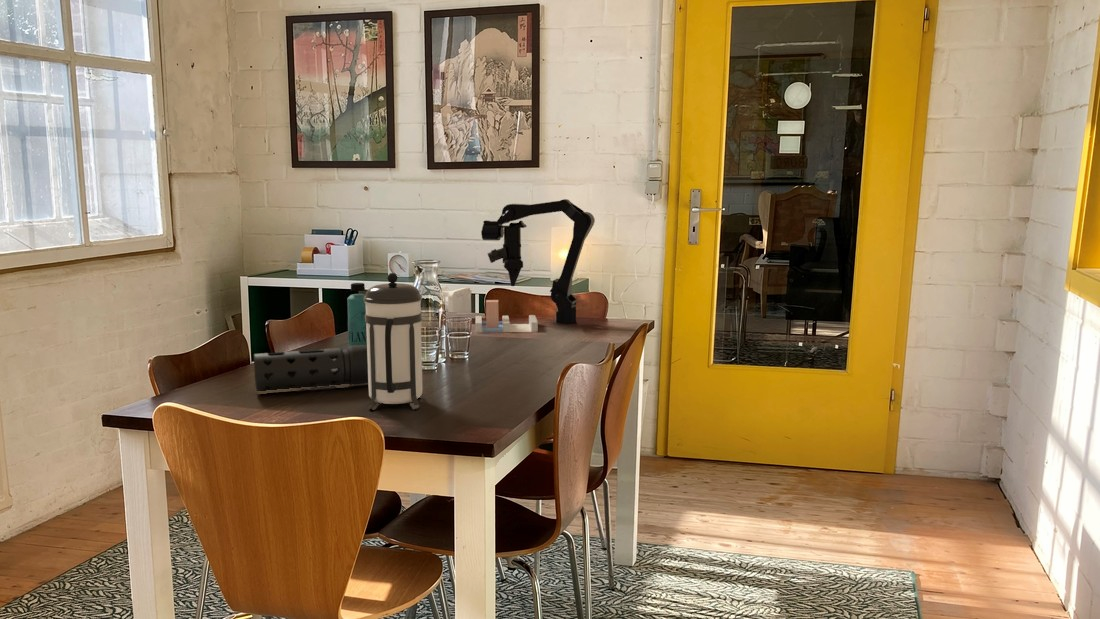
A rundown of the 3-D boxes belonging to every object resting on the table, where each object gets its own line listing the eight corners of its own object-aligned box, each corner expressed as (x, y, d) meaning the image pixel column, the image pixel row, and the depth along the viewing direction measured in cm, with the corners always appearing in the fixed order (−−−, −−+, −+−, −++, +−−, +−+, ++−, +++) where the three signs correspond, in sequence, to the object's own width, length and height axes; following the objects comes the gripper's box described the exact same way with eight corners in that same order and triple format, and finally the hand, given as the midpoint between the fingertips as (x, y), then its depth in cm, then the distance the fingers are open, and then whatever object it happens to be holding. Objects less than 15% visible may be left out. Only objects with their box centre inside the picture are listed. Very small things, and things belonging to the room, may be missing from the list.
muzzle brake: (255, 391, 207) (253, 349, 205) (372, 381, 217) (370, 340, 215) (256, 400, 198) (254, 357, 197) (378, 390, 208) (377, 348, 206)
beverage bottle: (344, 352, 251) (341, 284, 248) (354, 347, 257) (352, 281, 254) (364, 353, 249) (362, 284, 246) (374, 348, 256) (372, 281, 252)
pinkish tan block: (498, 326, 285) (498, 299, 283) (498, 328, 281) (498, 301, 280) (486, 326, 285) (486, 300, 283) (486, 329, 281) (486, 301, 279)
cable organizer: (446, 316, 311) (445, 285, 309) (472, 318, 308) (472, 286, 306) (426, 323, 297) (426, 290, 295) (454, 325, 294) (453, 292, 292)
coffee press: (345, 405, 194) (340, 273, 189) (404, 392, 205) (400, 267, 200) (389, 420, 182) (384, 280, 177) (449, 406, 193) (446, 274, 188)
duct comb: (534, 326, 291) (534, 315, 290) (537, 334, 277) (537, 322, 277) (475, 327, 289) (475, 315, 289) (475, 335, 276) (475, 323, 275)
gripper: (488, 238, 302) (488, 282, 304) (489, 243, 284) (489, 290, 286) (519, 238, 303) (520, 282, 305) (523, 243, 285) (523, 289, 287)
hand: (512, 286), depth 296 cm, fingers closed
